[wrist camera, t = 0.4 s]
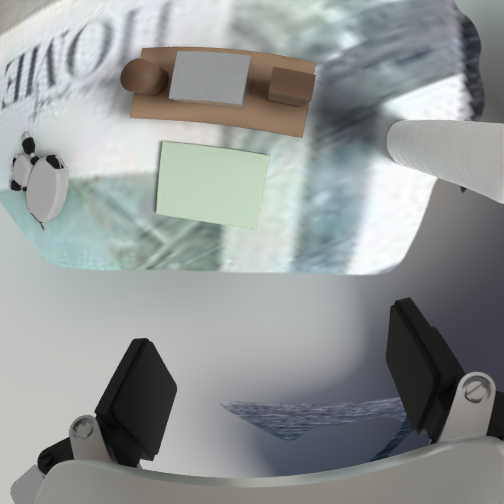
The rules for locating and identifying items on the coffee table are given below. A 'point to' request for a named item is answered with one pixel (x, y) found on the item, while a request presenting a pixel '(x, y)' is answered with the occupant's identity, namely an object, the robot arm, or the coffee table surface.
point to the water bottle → (453, 152)
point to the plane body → (253, 117)
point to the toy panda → (40, 181)
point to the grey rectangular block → (212, 79)
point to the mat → (211, 184)
